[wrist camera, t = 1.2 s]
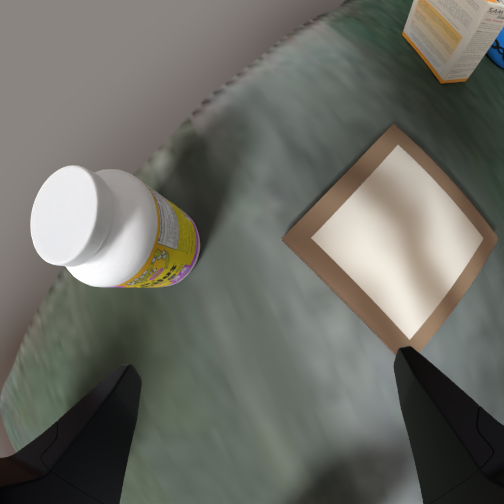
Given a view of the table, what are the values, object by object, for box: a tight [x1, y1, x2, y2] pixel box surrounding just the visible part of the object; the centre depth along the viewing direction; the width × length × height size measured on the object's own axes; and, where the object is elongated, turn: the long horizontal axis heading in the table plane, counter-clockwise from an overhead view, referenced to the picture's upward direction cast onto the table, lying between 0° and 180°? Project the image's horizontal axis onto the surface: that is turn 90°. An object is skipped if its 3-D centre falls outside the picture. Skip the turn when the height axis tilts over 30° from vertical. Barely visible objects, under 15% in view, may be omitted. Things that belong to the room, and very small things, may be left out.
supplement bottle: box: [31, 165, 200, 287], centre depth 18 cm, size 7×7×13 cm
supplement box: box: [402, 0, 504, 84], centre depth 16 cm, size 8×5×13 cm, turn 19°
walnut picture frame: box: [282, 124, 498, 355], centre depth 21 cm, size 14×14×1 cm
